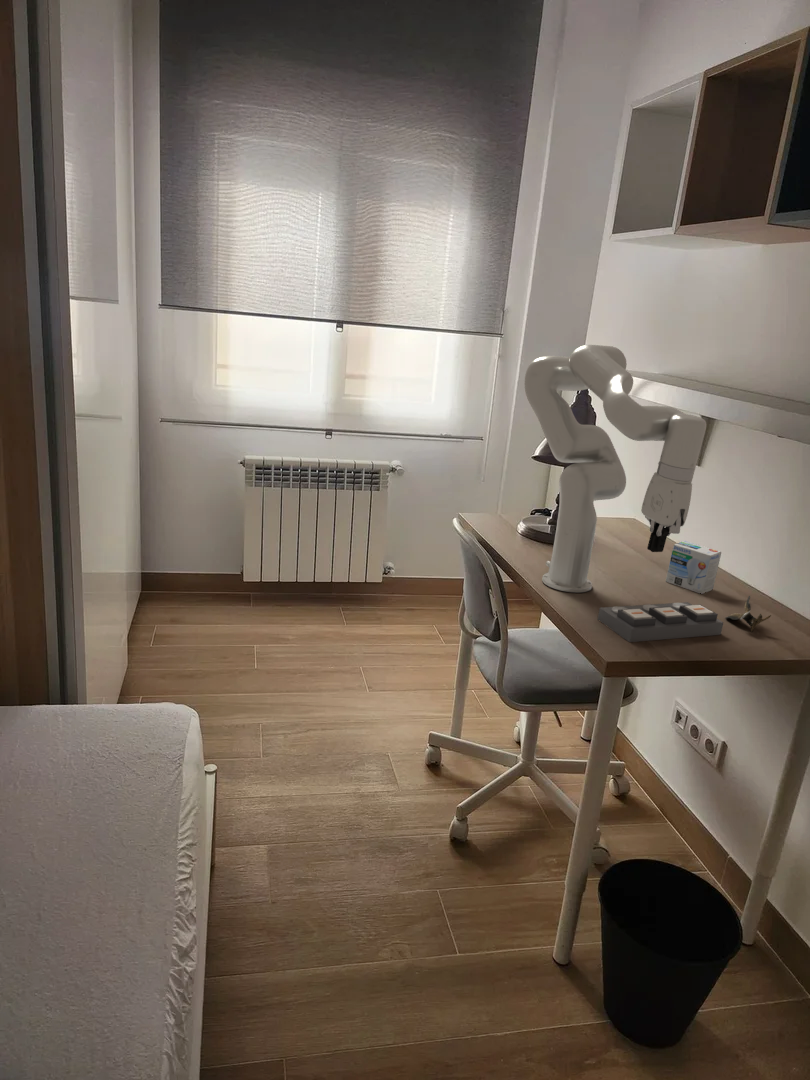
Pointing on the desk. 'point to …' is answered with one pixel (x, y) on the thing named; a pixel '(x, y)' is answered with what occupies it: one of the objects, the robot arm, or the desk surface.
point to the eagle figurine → (748, 616)
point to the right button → (698, 609)
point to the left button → (637, 613)
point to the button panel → (660, 623)
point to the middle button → (668, 612)
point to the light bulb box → (693, 567)
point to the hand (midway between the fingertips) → (654, 550)
